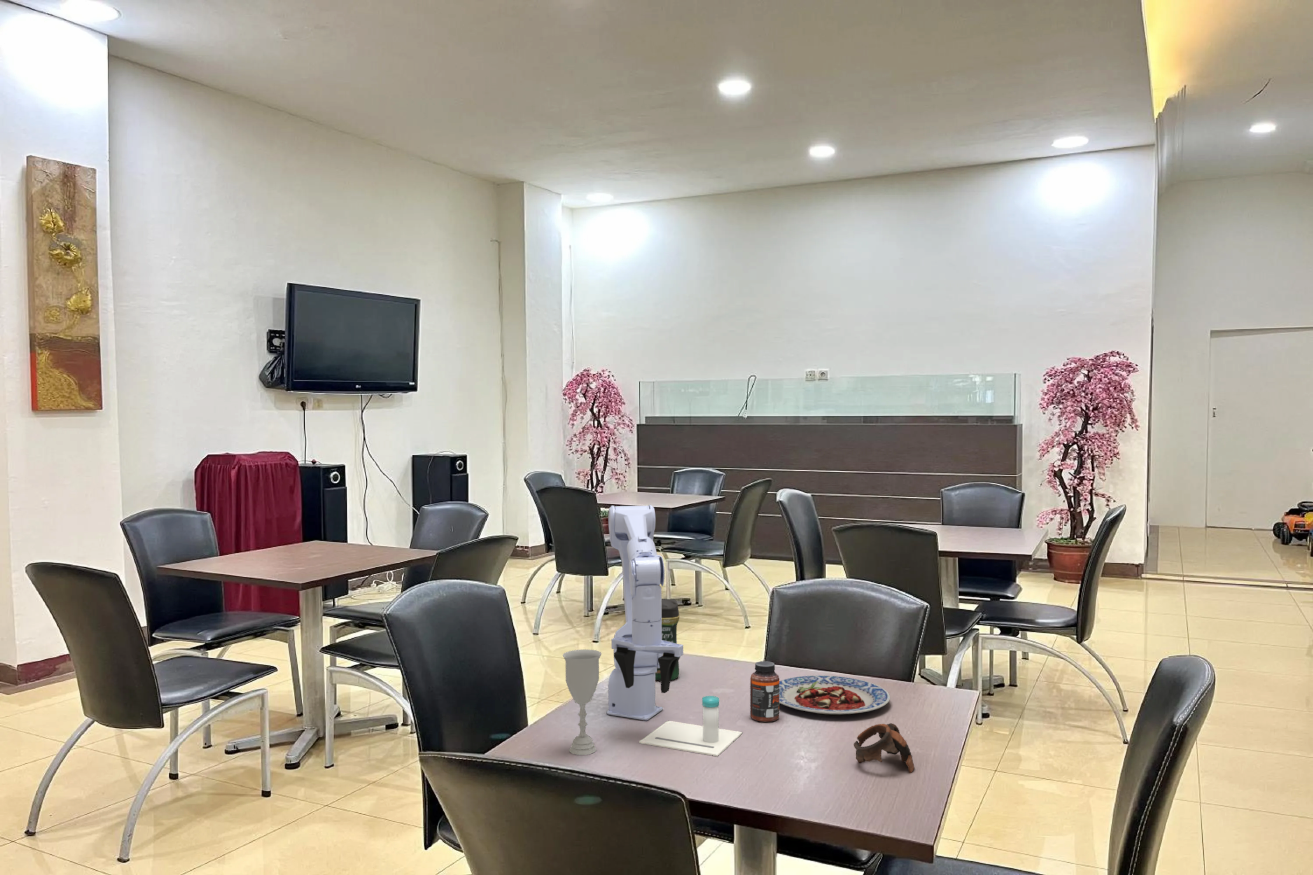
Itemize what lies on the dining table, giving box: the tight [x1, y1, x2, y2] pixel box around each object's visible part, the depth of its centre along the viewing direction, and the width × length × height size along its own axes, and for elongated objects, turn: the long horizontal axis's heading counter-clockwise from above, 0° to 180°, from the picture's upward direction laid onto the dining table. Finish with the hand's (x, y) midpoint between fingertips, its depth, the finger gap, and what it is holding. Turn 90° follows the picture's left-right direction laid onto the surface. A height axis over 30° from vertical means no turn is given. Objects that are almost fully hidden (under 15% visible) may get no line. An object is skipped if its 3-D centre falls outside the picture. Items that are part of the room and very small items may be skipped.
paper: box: [638, 720, 743, 757], centre depth 180 cm, size 16×13×1 cm
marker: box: [701, 695, 720, 743], centre depth 178 cm, size 3×3×8 cm
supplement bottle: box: [749, 660, 780, 723], centre depth 191 cm, size 6×6×11 cm
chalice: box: [562, 648, 602, 756], centre depth 174 cm, size 7×7×18 cm
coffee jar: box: [655, 598, 680, 681], centre depth 220 cm, size 10×8×19 cm
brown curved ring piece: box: [853, 722, 915, 773], centre depth 167 cm, size 12×10×8 cm
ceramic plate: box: [779, 674, 891, 716], centre depth 202 cm, size 26×26×3 cm
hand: (647, 688), depth 180 cm, fingers open, 7 cm apart
